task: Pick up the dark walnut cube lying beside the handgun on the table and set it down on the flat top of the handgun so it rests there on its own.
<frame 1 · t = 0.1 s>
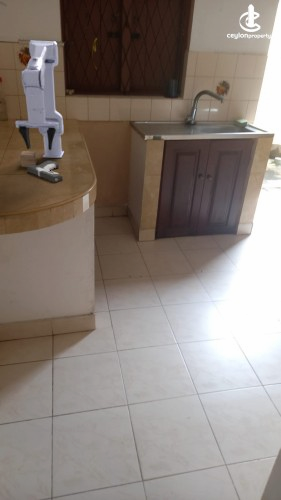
hand: (39, 148, 127), 10 cm above the table, tool pointing down, fingers open, 7 cm apart
walnut cube: (29, 165, 143), on the table
handgun: (52, 174, 136), on the table
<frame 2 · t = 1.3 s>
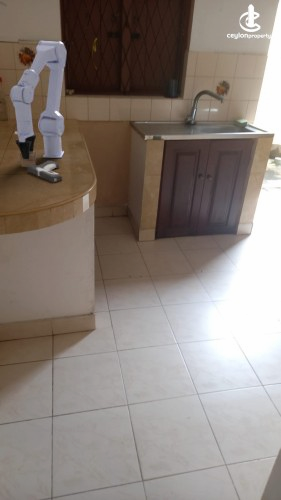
hand: (28, 156, 141), 4 cm above the table, tool pointing down, fingers open, 7 cm apart
nothing on the table moved.
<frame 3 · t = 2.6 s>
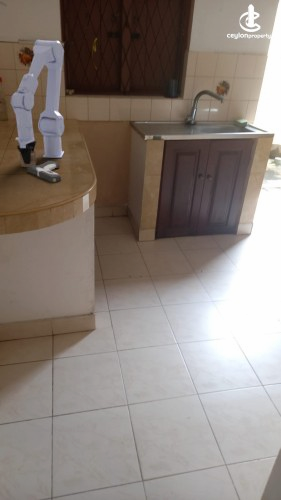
hand: (28, 161, 142), 1 cm above the table, tool pointing down, fingers closed on walnut cube, 5 cm apart
walnut cube: (29, 165, 143), on the table, touching gripper
everything else where it was.
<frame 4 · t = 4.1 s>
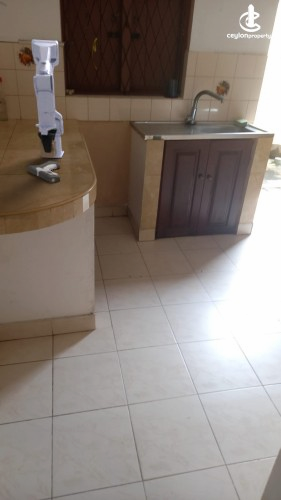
hand: (49, 150, 132), 8 cm above the table, tool pointing down, fingers closed on walnut cube, 5 cm apart
walnut cube: (48, 155, 133), point 7 cm above the table, touching gripper
everything else where it was.
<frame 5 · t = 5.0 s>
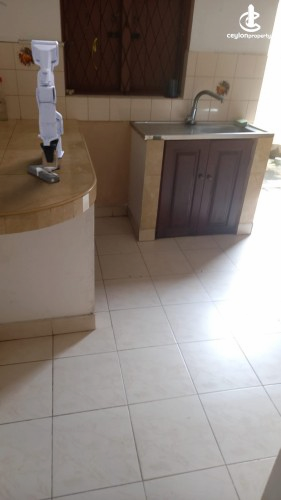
hand: (51, 160, 133), 5 cm above the table, tool pointing down, fingers closed on walnut cube, 5 cm apart
walnut cube: (50, 164, 134), point 3 cm above the table, touching gripper
everything else where it was.
when the fingers open (5 cm above the table, at t = 5.7 s): walnut cube drops 1 cm, resting on handgun.
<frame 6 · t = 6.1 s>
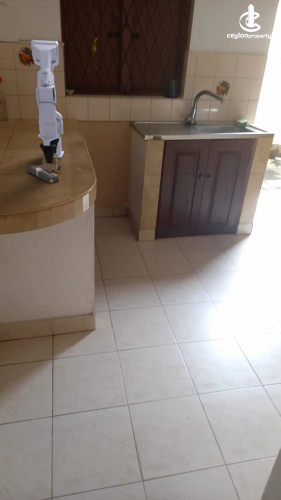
hand: (51, 160, 133), 5 cm above the table, tool pointing down, fingers open, 7 cm apart
walnut cube: (50, 168, 135), point 2 cm above the table, touching handgun
handgun: (51, 175, 135), on the table, touching walnut cube
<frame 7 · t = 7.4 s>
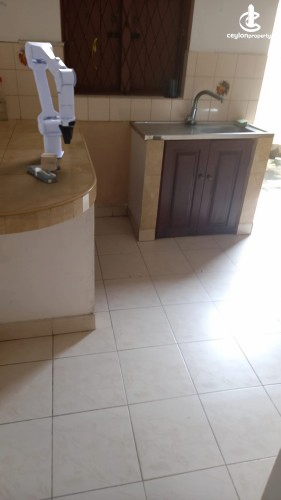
hand: (68, 141, 139), 10 cm above the table, tool pointing down, fingers open, 7 cm apart
nothing on the table moved.
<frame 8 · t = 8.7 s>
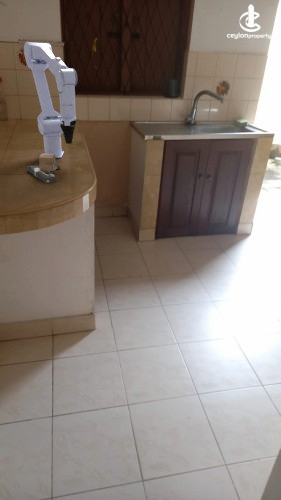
hand: (69, 141, 140), 10 cm above the table, tool pointing down, fingers open, 7 cm apart
at the end: walnut cube inside the target area on the handgun (0.9 cm from its centre), point 2.7 cm above the handgun's base; walnut cube tilted 0°; the gripper is holding nothing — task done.
